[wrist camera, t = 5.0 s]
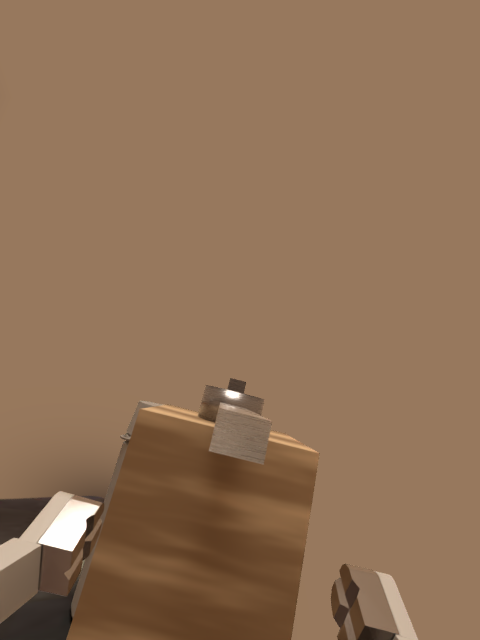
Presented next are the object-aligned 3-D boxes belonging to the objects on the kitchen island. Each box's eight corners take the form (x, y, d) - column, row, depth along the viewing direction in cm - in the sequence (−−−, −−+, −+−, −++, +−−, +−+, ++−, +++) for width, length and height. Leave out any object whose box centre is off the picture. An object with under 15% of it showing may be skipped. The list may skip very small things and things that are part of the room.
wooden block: (239, 979, 15) (319, 453, 22) (-21, 914, 15) (139, 408, 22) (231, 727, 27) (285, 433, 34) (83, 690, 27) (167, 404, 34)
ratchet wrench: (304, 474, 12) (320, 377, 13) (167, 440, 12) (194, 345, 13) (254, 427, 31) (262, 388, 32) (199, 414, 31) (210, 375, 32)
